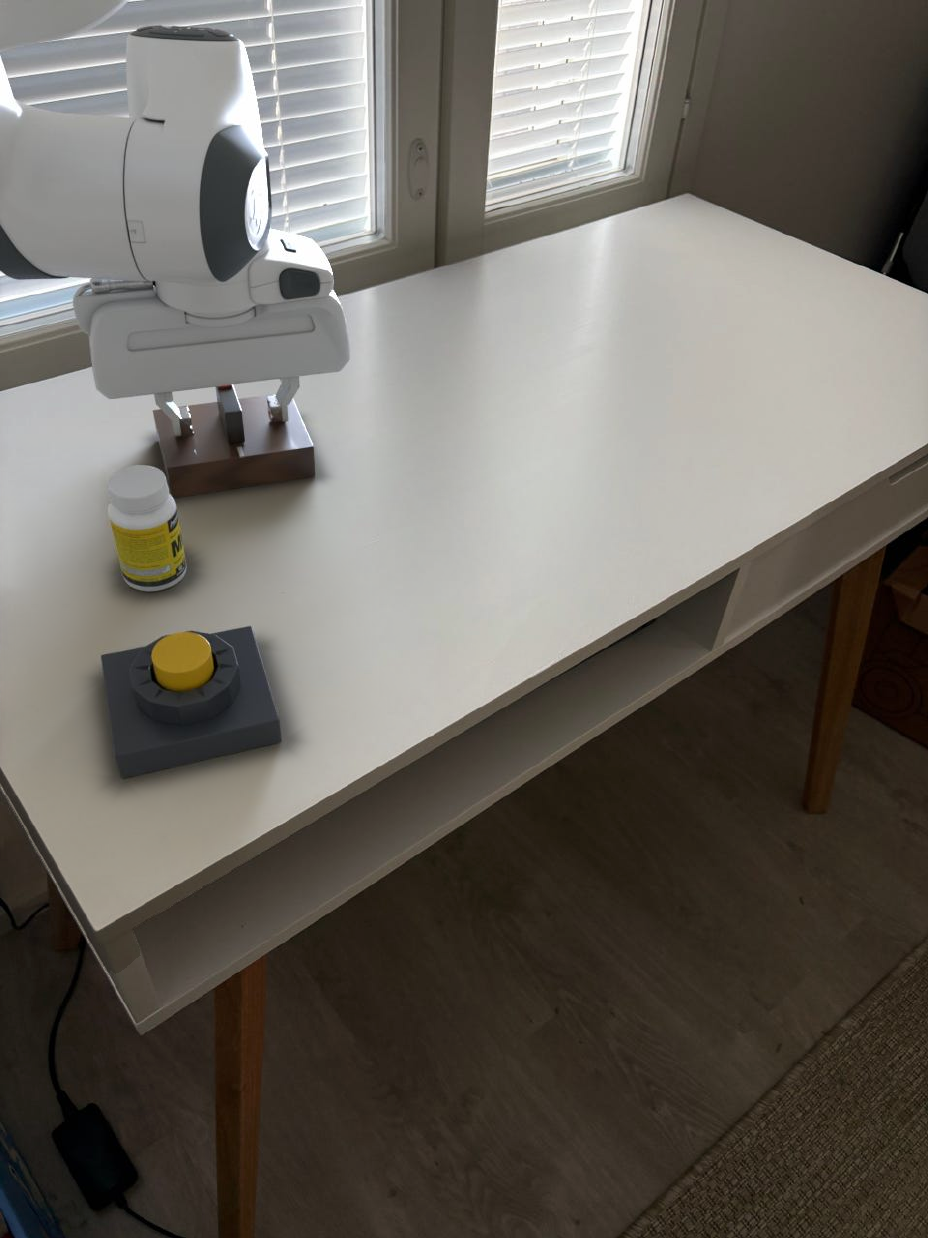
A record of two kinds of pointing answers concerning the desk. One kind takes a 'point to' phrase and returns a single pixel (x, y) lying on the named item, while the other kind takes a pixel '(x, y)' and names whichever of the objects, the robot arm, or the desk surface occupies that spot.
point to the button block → (189, 706)
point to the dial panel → (234, 449)
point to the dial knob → (230, 414)
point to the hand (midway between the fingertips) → (231, 425)
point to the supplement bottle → (146, 528)
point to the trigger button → (182, 661)
